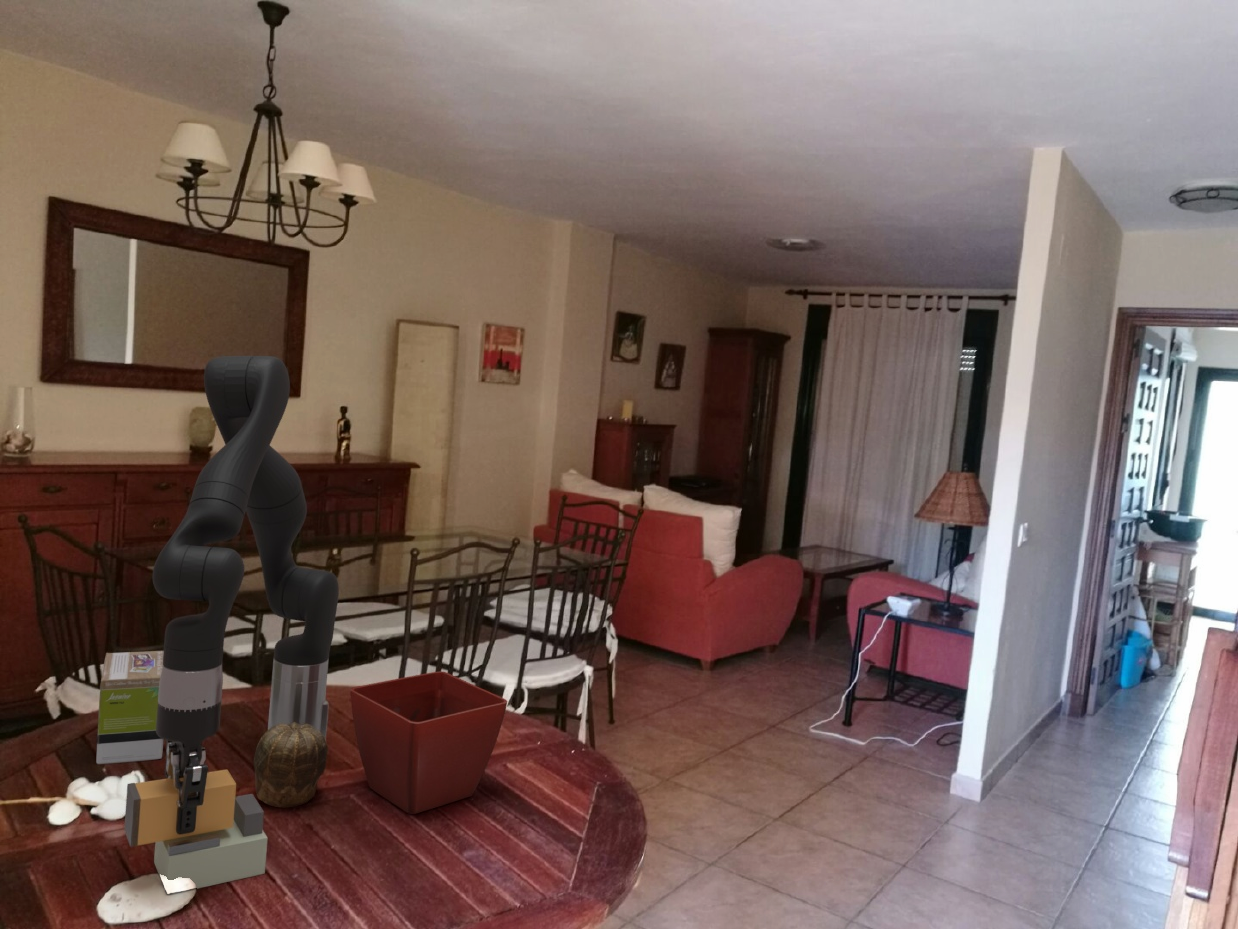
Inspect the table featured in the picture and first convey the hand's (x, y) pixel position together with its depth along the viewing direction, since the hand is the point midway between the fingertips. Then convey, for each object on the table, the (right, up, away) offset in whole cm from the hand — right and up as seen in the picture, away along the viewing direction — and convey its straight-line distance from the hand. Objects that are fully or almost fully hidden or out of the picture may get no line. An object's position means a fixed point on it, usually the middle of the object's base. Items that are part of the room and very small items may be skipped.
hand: (180, 822), depth 118 cm
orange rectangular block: (0, -1, 0) cm, 1 cm away
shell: (+5, -6, +25) cm, 26 cm away
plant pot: (+24, -8, +32) cm, 41 cm away
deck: (+2, -7, +3) cm, 8 cm away
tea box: (-27, -2, +38) cm, 47 cm away
